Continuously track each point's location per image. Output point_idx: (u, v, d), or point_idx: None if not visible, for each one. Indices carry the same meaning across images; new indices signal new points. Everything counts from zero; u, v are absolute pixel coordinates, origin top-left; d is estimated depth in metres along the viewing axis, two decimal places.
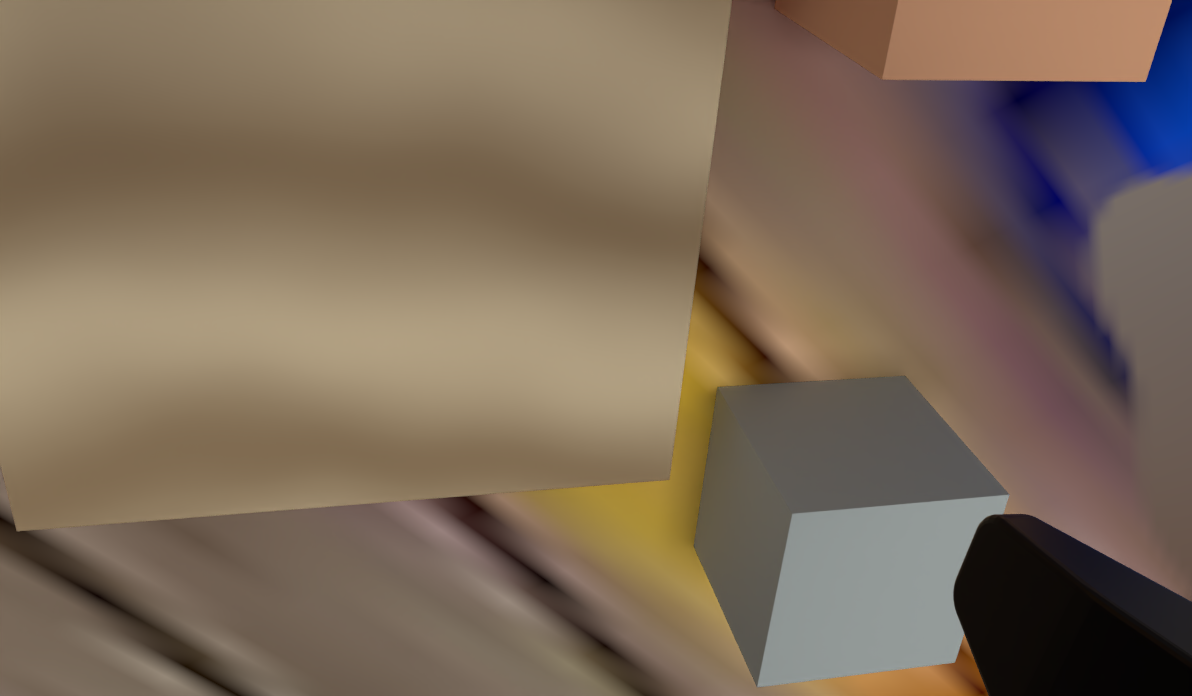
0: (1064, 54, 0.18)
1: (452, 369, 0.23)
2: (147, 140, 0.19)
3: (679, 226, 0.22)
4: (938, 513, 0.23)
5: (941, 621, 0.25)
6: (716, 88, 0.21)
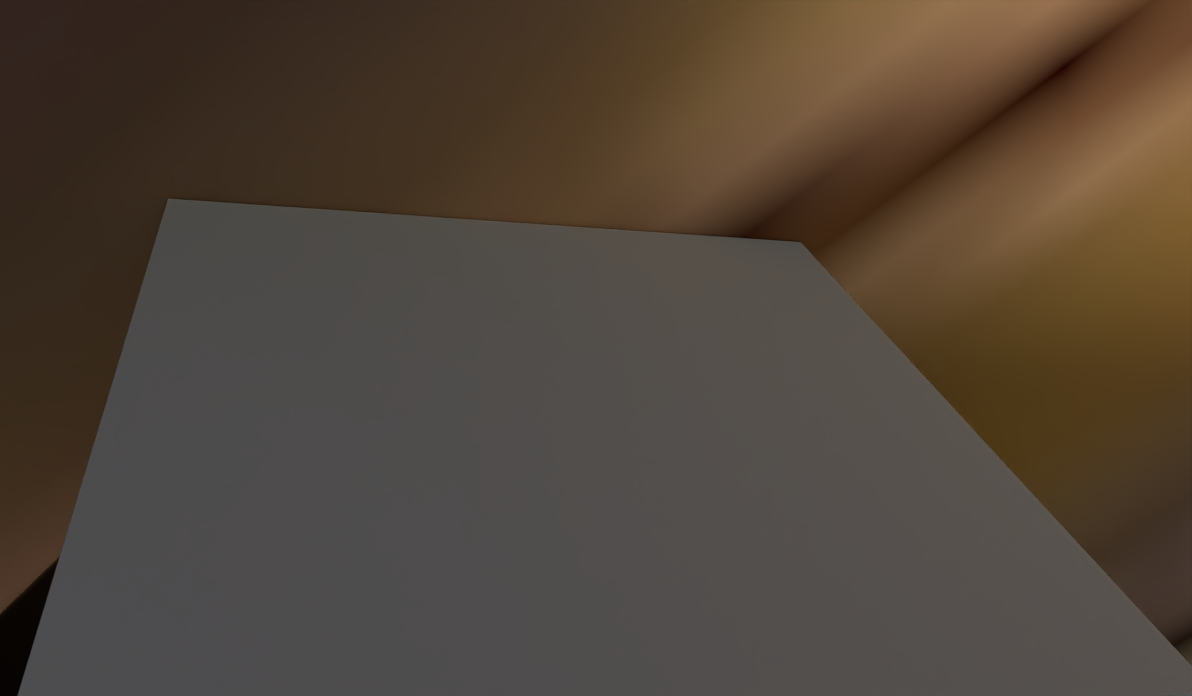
0: None
1: None
2: None
3: None
4: None
5: None
6: None
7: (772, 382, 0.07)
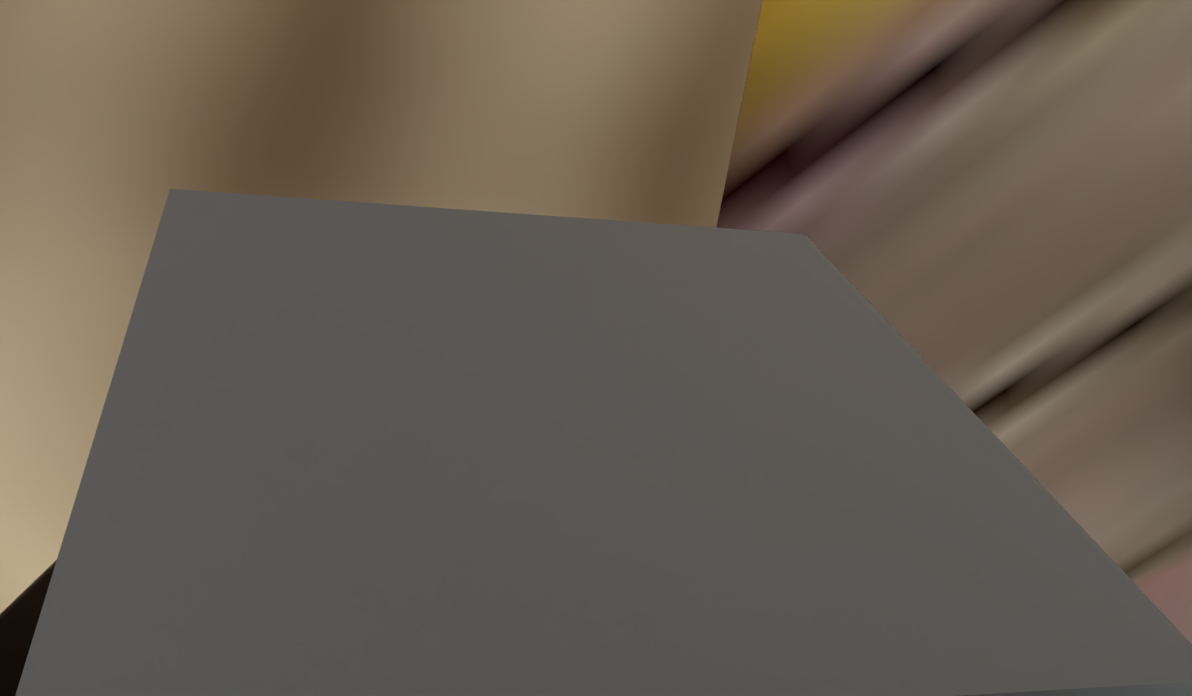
0: None
1: None
2: None
3: None
4: None
5: None
6: None
7: (776, 371, 0.07)
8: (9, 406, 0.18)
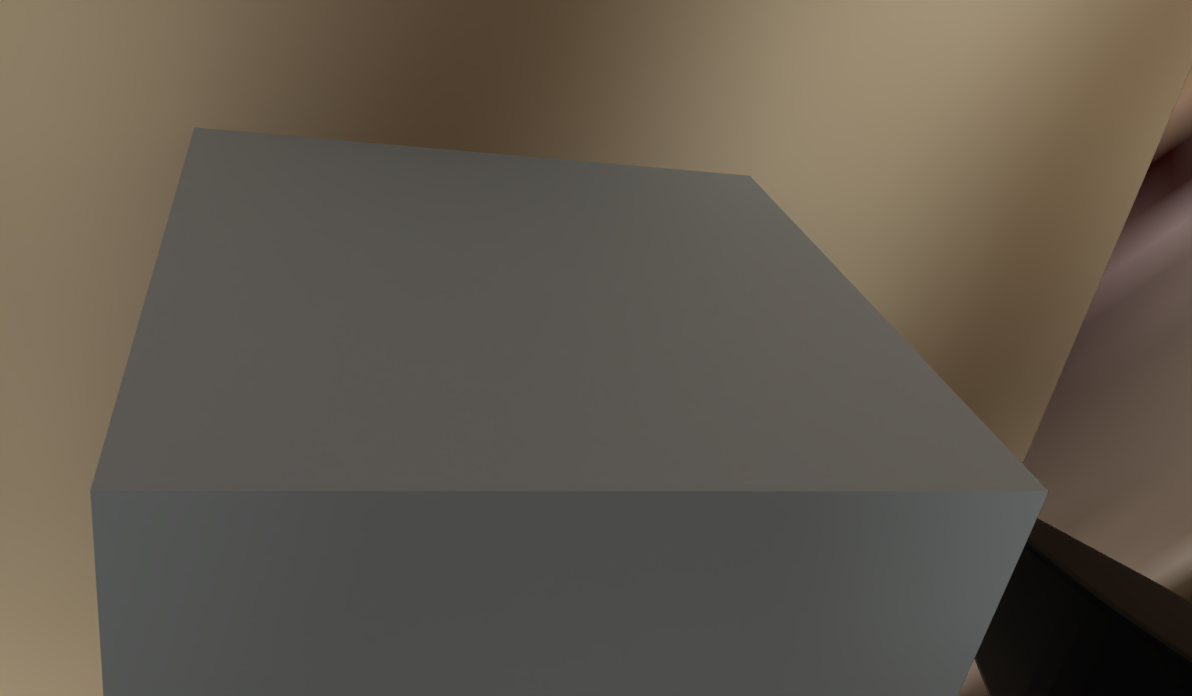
0: None
1: (833, 244, 0.11)
2: None
3: None
4: None
5: (789, 593, 0.06)
6: None
7: (711, 275, 0.08)
8: None
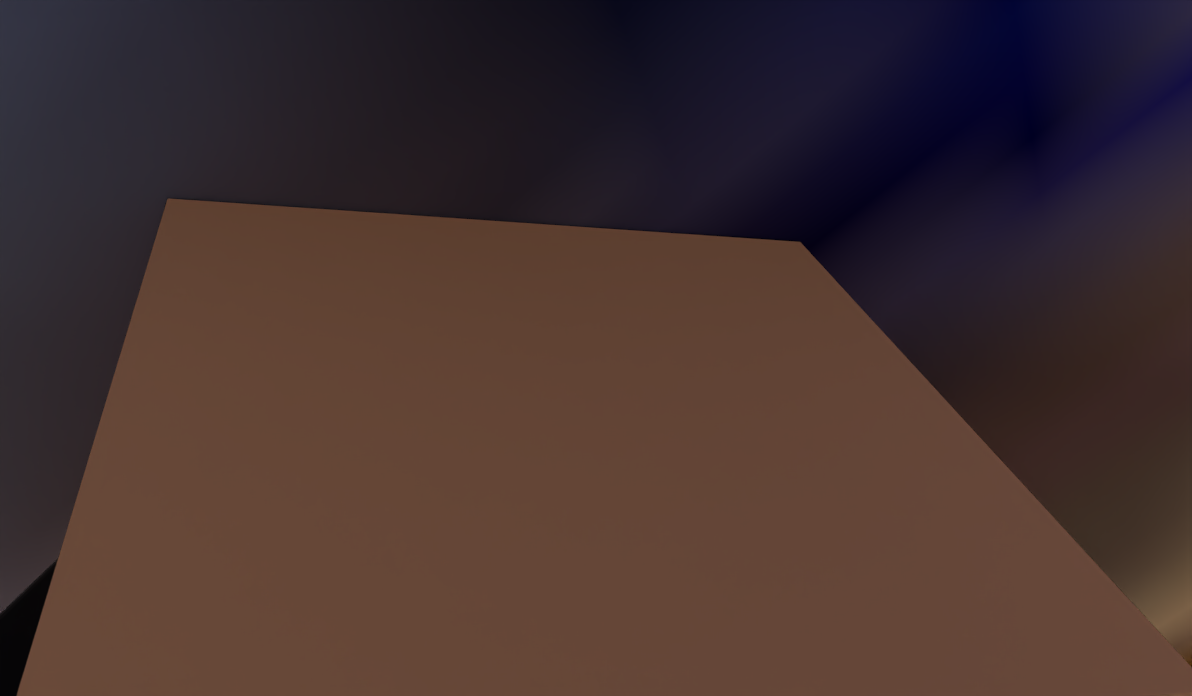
0: None
1: None
2: None
3: None
4: None
5: None
6: None
7: None
8: None
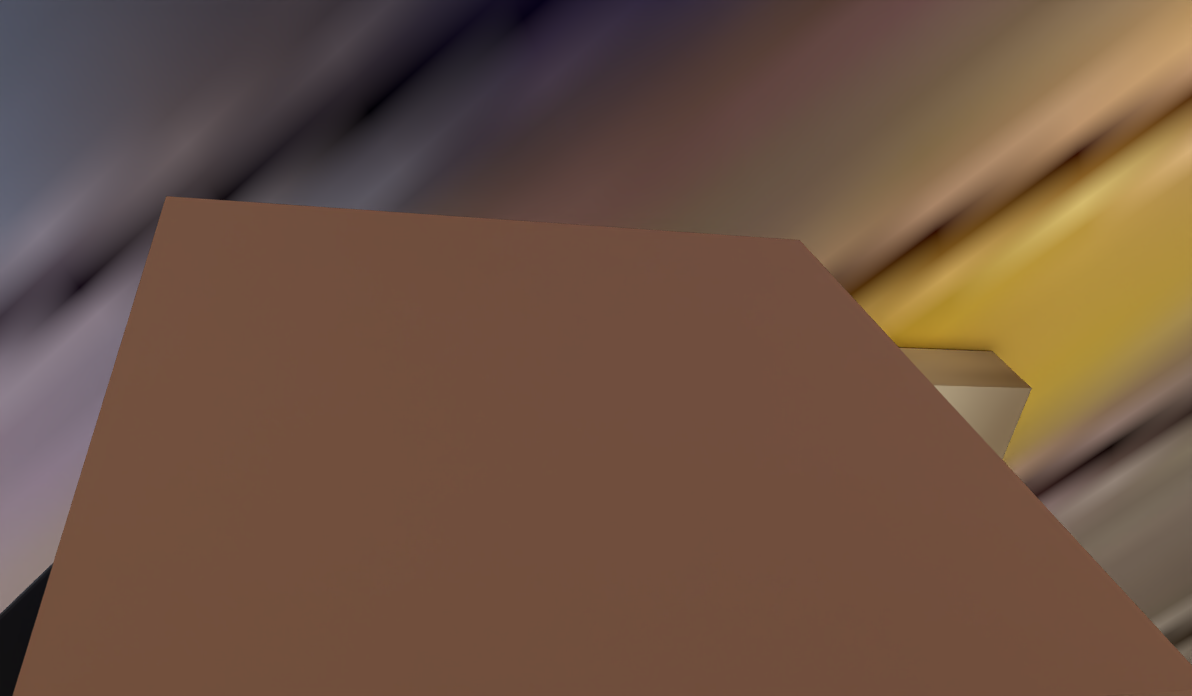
0: None
1: None
2: None
3: None
4: None
5: None
6: None
7: None
8: None
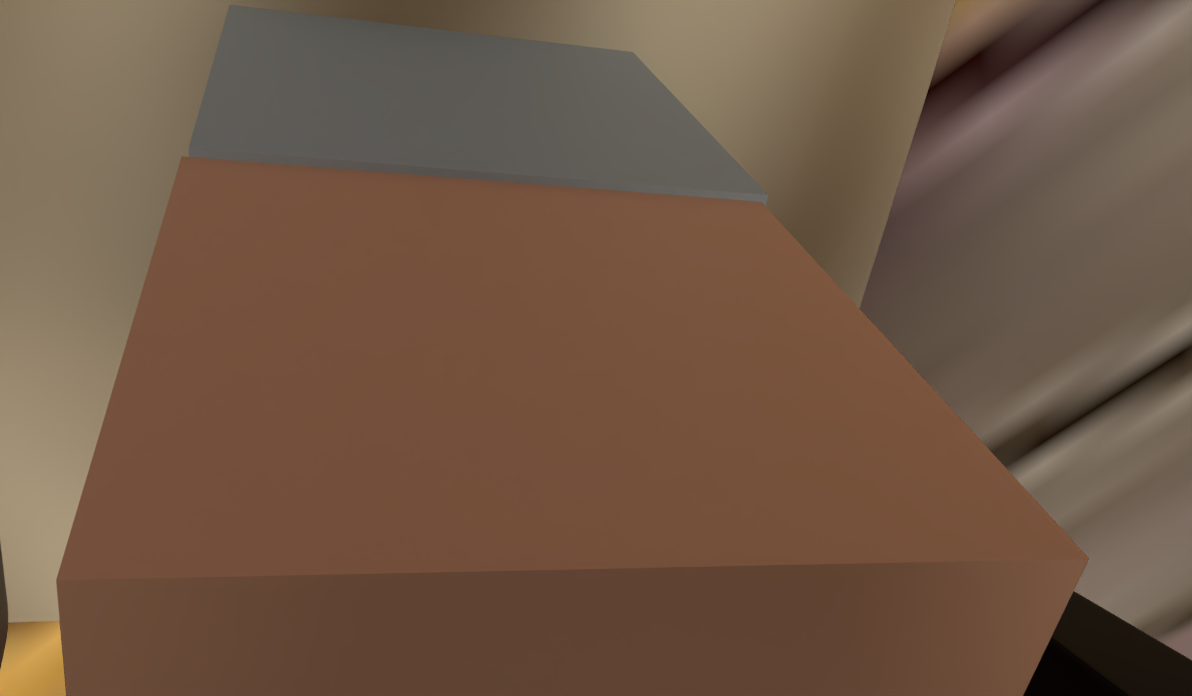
0: None
1: (699, 107, 0.15)
2: None
3: None
4: None
5: None
6: None
7: (584, 95, 0.12)
8: (59, 324, 0.14)
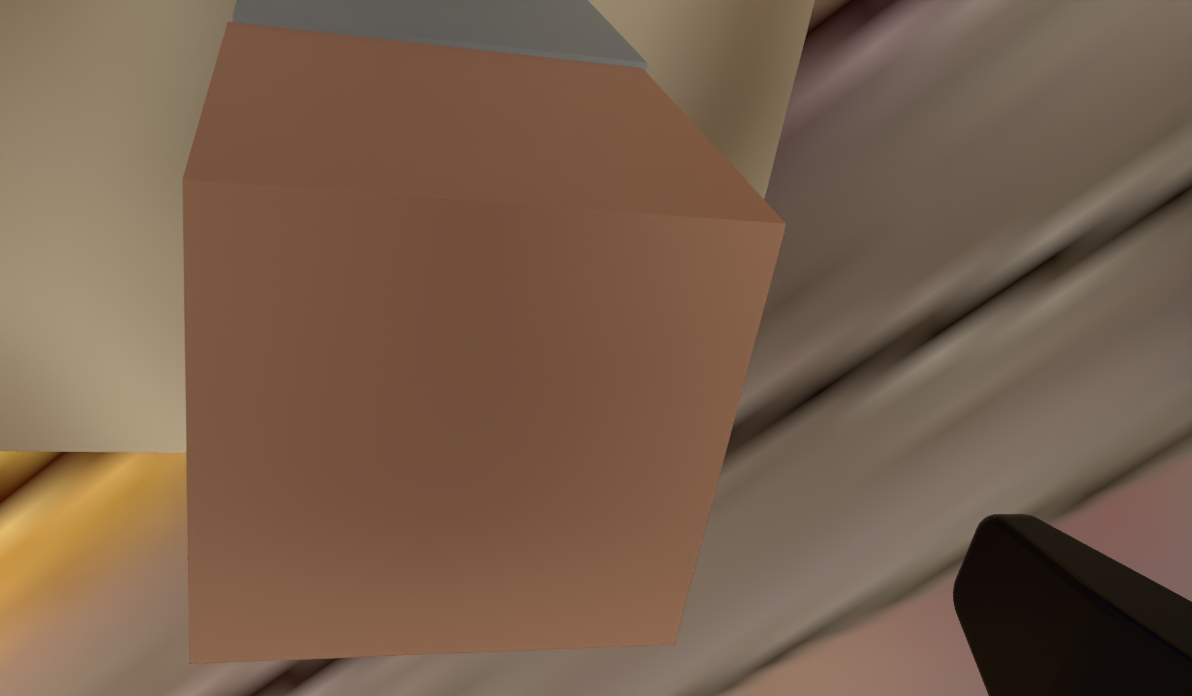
0: (697, 391, 0.10)
1: (625, 27, 0.19)
2: None
3: None
4: None
5: None
6: None
7: (523, 4, 0.16)
8: (117, 196, 0.18)
